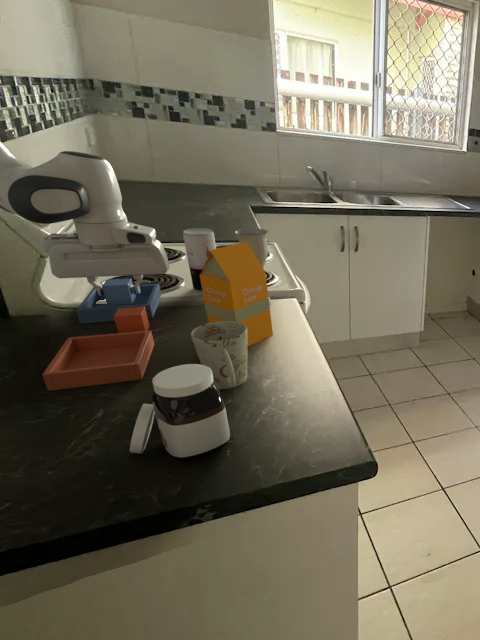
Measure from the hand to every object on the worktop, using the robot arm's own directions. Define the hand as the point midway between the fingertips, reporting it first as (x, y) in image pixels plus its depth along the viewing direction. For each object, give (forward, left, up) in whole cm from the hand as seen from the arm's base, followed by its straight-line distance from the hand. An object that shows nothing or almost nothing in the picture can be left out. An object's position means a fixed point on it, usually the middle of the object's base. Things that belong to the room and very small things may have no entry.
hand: (120, 293), depth 107 cm
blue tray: (0, 0, -4) cm, 4 cm away
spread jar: (+16, -59, -4) cm, 61 cm away
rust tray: (+2, -29, -4) cm, 29 cm away
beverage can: (+16, +11, -4) cm, 20 cm away
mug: (+22, -43, -4) cm, 48 cm away
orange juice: (+24, -23, -4) cm, 33 cm away
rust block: (+4, -14, -4) cm, 15 cm away
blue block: (0, 0, -2) cm, 2 cm away
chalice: (+28, -3, -4) cm, 28 cm away
